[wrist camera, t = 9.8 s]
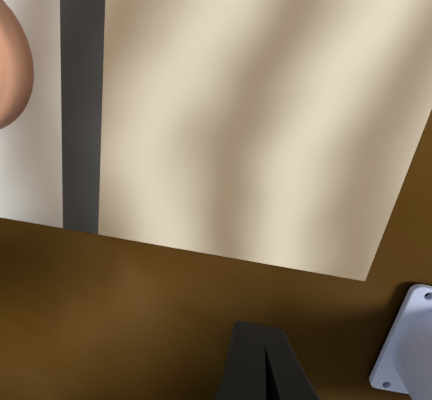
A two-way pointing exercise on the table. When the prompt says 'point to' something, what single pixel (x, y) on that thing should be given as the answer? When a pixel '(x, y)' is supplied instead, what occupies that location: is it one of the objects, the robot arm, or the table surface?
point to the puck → (13, 67)
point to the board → (222, 124)
